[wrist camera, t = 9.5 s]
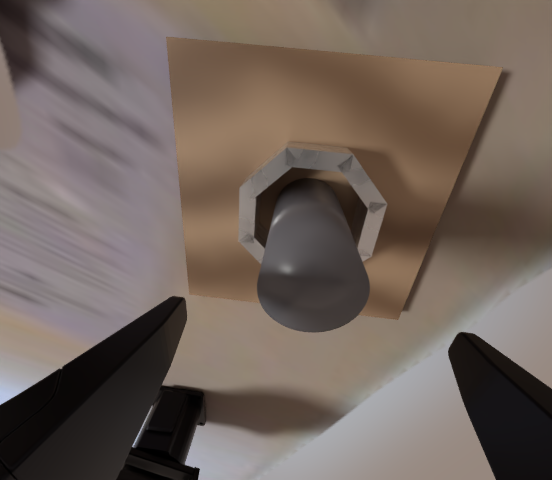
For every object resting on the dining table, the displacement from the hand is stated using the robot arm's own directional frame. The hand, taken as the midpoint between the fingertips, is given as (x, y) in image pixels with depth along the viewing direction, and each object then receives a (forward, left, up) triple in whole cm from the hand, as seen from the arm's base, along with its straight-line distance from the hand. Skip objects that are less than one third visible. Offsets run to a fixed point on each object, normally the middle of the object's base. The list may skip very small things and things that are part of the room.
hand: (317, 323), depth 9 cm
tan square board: (0, 0, -12) cm, 12 cm away
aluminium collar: (0, 0, -11) cm, 11 cm away
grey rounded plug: (0, 0, -11) cm, 11 cm away
